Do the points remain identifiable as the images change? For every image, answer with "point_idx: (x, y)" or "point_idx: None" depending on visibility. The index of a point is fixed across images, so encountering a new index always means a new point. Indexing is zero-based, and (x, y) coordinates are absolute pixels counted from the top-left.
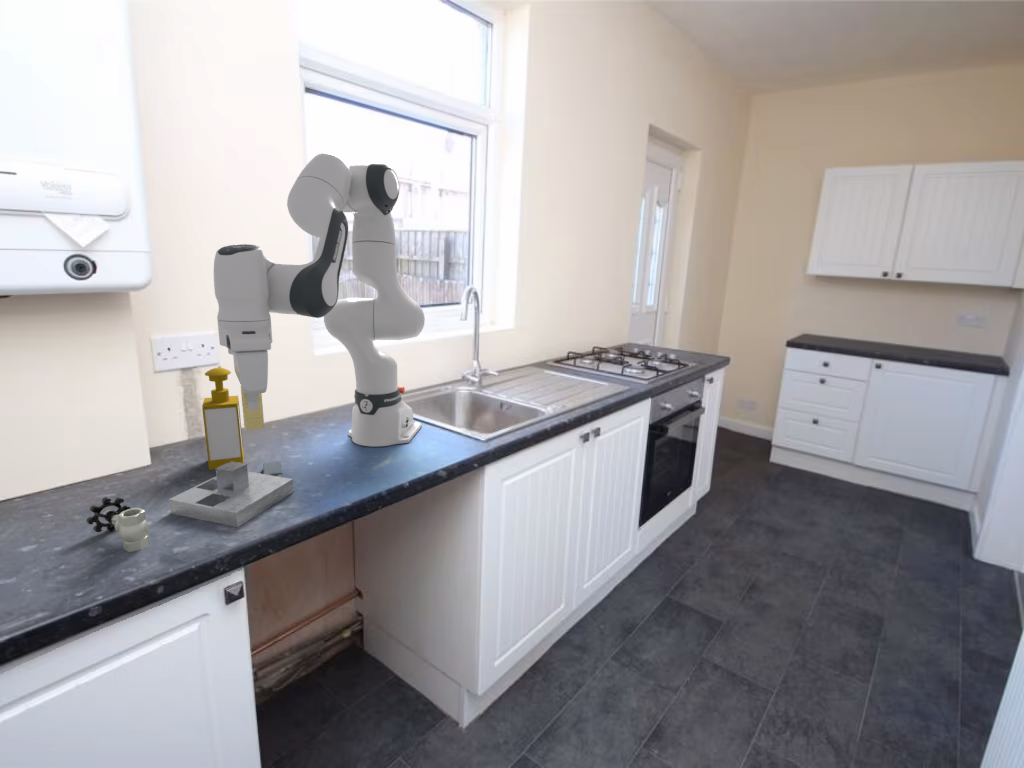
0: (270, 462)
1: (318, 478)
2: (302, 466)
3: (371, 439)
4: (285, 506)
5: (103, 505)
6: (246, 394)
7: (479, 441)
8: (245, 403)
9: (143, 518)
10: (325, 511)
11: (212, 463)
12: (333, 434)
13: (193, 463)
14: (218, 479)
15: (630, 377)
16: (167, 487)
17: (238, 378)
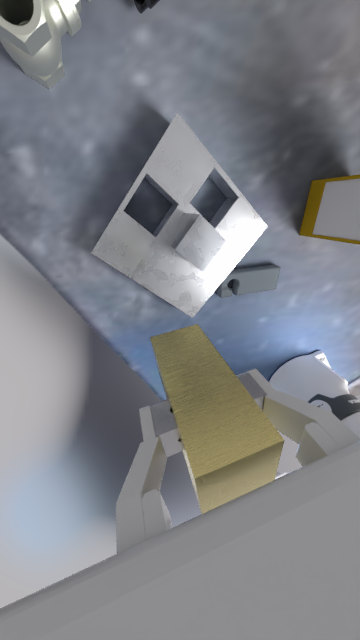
0: (277, 276)
1: (215, 332)
2: (258, 311)
3: (279, 380)
4: (146, 304)
5: None
6: (127, 493)
7: None
8: (172, 409)
9: (22, 47)
10: (120, 349)
11: (319, 186)
12: (330, 335)
13: (352, 148)
14: (189, 217)
15: None
16: (280, 104)
17: (295, 513)
